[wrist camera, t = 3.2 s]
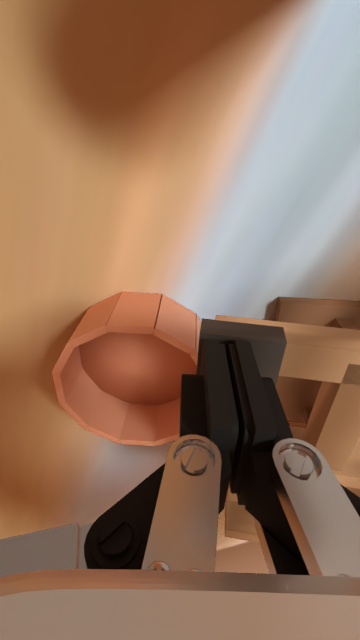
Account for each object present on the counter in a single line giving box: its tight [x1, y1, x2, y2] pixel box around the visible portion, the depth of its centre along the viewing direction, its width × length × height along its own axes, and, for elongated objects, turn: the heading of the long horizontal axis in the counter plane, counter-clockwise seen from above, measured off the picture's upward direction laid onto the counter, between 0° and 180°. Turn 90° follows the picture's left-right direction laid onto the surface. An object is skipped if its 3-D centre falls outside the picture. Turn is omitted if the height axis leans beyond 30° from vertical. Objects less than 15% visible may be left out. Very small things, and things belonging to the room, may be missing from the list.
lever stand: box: [274, 297, 360, 425], centre depth 23 cm, size 10×13×13 cm
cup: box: [52, 292, 201, 446], centre depth 26 cm, size 12×12×5 cm
